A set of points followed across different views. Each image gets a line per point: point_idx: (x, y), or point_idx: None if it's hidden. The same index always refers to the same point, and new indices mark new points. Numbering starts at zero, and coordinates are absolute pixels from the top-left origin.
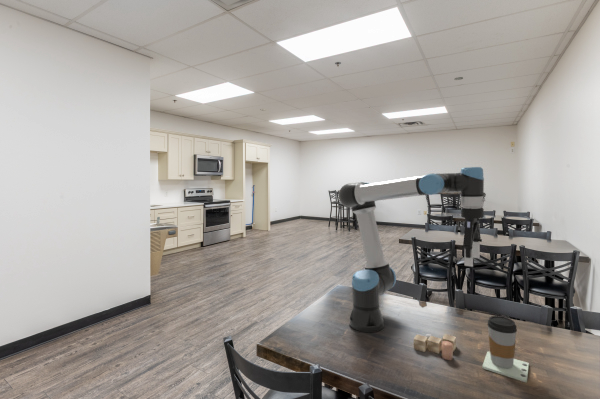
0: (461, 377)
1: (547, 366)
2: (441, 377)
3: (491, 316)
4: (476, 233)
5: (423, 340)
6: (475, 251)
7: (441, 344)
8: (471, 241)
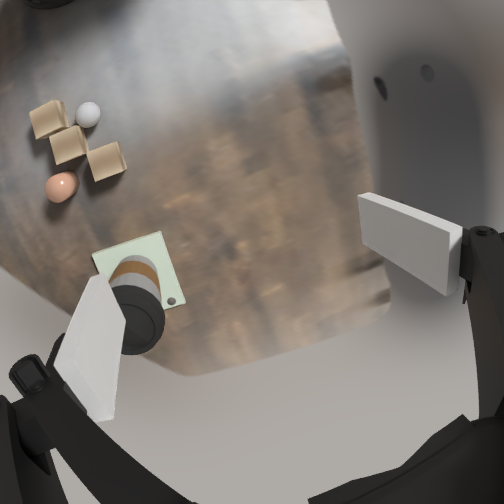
0: (33, 244)
1: (210, 320)
2: (4, 221)
3: (129, 299)
4: (481, 367)
5: (39, 132)
6: (390, 234)
7: (83, 154)
8: (57, 495)
